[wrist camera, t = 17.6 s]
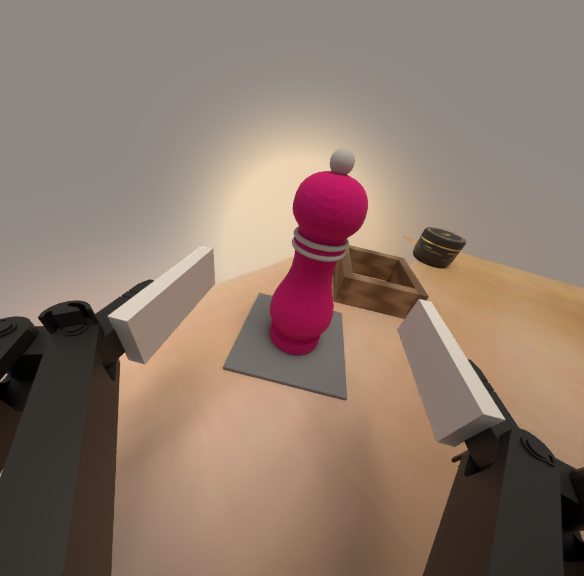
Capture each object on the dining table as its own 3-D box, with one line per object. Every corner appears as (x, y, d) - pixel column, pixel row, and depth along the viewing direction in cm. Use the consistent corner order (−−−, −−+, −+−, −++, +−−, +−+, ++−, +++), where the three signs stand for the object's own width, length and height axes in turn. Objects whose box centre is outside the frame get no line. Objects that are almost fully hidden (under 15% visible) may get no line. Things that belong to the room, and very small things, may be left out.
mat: (340, 314, 31) (341, 313, 31) (345, 400, 21) (346, 398, 21) (259, 295, 32) (259, 292, 32) (223, 368, 21) (223, 366, 21)
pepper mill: (273, 364, 22) (322, 142, 11) (260, 317, 27) (283, 134, 16) (331, 354, 25) (422, 164, 13) (309, 312, 30) (359, 151, 18)
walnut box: (392, 278, 44) (403, 258, 41) (411, 320, 34) (428, 296, 31) (333, 264, 44) (340, 243, 42) (334, 301, 34) (344, 276, 31)
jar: (454, 265, 57) (473, 240, 53) (439, 272, 52) (459, 244, 47) (420, 249, 63) (434, 225, 59) (404, 253, 57) (418, 227, 53)
